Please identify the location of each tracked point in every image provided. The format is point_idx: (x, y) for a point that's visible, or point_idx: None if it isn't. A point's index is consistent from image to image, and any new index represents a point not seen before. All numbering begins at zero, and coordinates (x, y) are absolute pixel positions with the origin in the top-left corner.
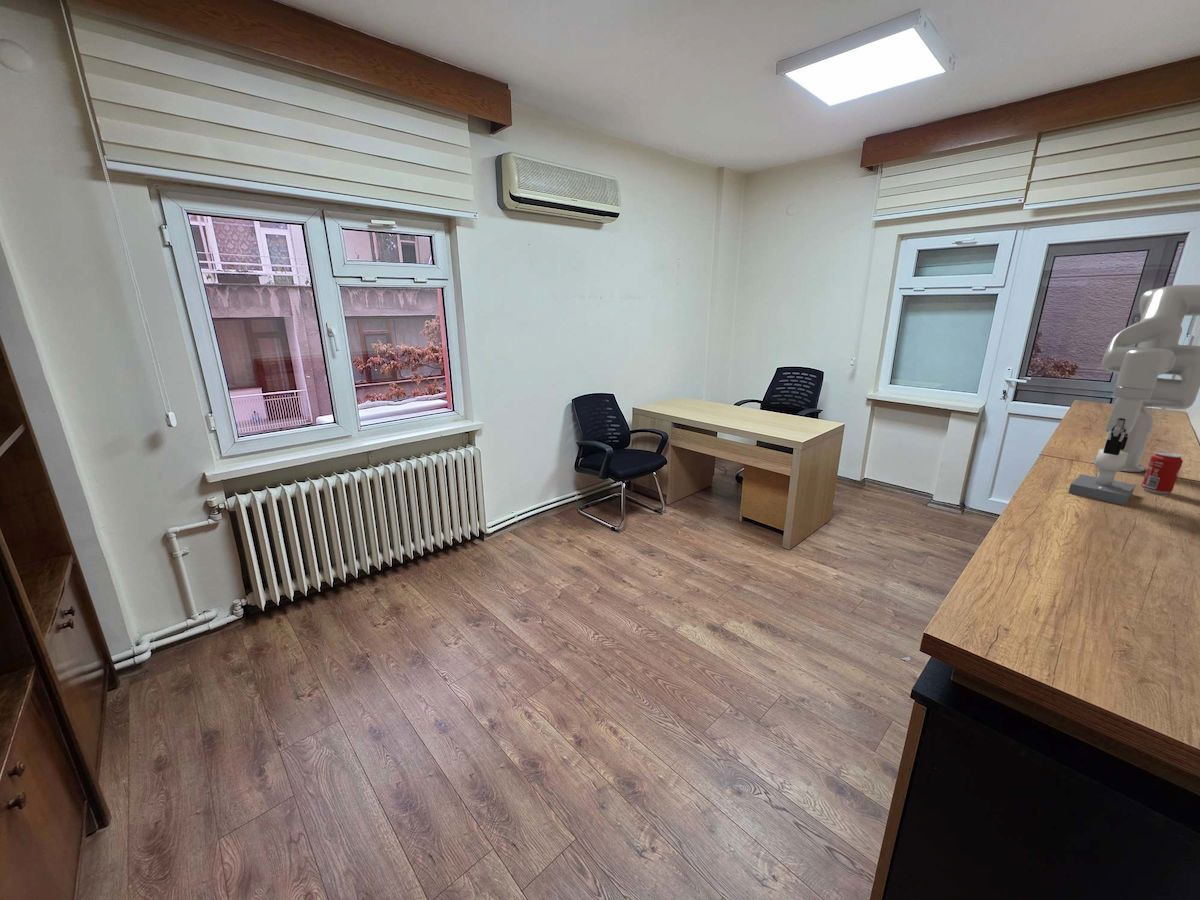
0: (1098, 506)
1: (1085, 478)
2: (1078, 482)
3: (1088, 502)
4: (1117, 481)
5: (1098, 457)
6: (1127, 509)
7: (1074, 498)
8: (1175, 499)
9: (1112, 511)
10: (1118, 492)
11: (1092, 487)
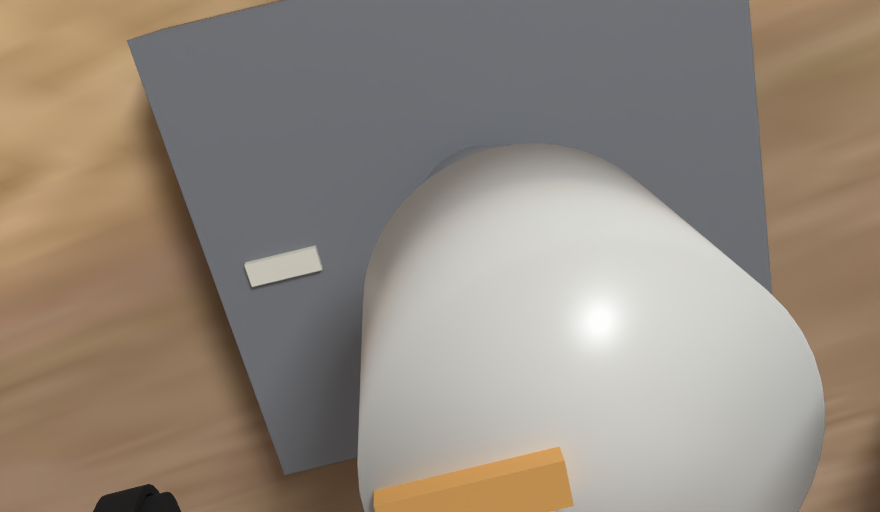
0: (26, 342)
1: (566, 14)
2: (287, 55)
3: (52, 257)
4: (760, 234)
5: (412, 255)
6: (201, 463)
7: (37, 144)
8: (868, 494)
9: (11, 441)
10: (306, 402)
11: (232, 219)
